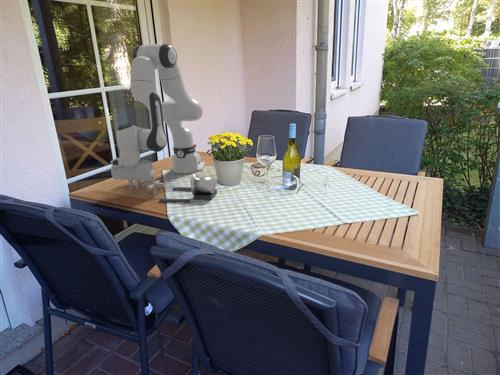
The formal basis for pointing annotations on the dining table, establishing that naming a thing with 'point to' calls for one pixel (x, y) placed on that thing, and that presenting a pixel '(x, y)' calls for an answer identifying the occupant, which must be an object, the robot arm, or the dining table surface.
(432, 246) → the dining table surface
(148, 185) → the pipe connector
